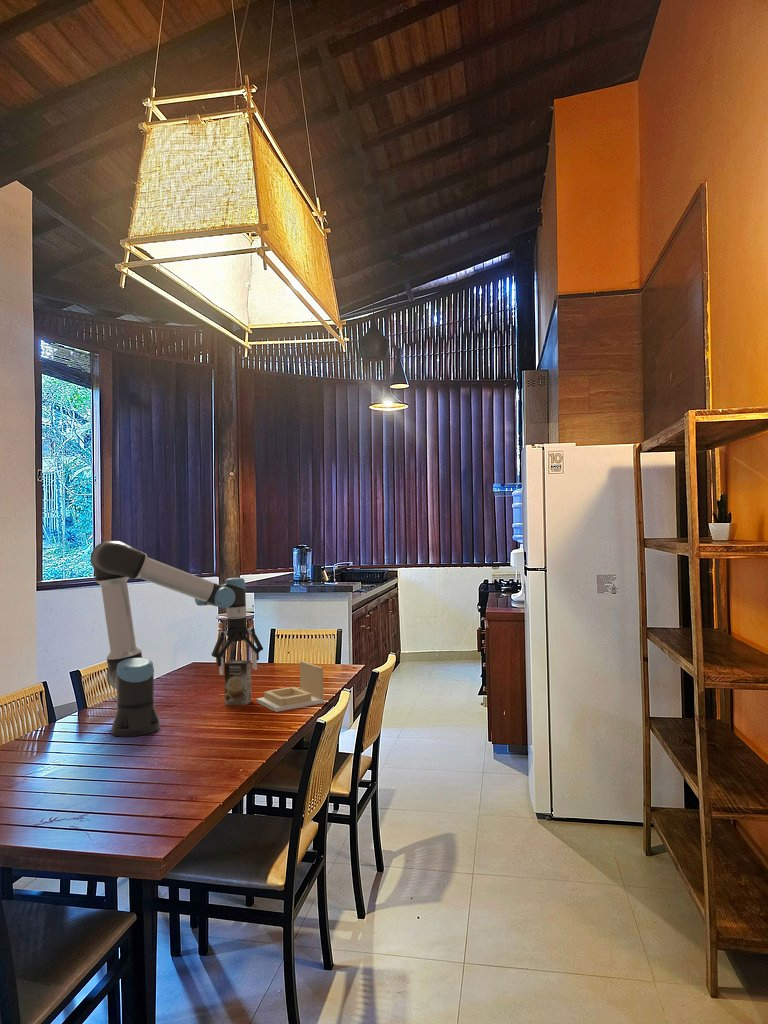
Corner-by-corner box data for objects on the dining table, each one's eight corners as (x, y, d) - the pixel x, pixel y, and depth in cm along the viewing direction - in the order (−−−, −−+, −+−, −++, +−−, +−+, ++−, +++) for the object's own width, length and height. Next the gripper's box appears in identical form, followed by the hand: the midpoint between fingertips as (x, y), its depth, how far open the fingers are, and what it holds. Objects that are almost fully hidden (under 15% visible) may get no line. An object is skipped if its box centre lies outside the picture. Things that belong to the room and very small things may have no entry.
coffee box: (224, 705, 251) (223, 663, 251) (229, 700, 257) (228, 660, 258) (247, 705, 250) (246, 663, 250) (252, 700, 256) (251, 659, 257)
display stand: (275, 712, 238) (274, 675, 239) (256, 702, 253) (255, 667, 254) (323, 703, 249) (322, 667, 250) (303, 694, 264) (302, 660, 265)
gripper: (208, 621, 245) (210, 678, 244) (270, 614, 258) (272, 668, 258) (202, 620, 251) (204, 675, 250) (262, 613, 265) (264, 665, 264)
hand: (238, 671), depth 254 cm, fingers open, 13 cm apart
